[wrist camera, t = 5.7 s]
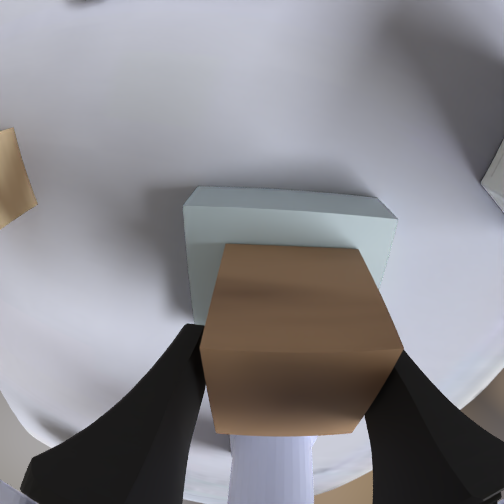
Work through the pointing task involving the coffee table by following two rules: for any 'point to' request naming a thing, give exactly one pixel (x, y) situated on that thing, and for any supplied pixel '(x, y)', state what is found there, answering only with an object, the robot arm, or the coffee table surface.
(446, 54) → the coffee table surface
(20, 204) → the oak cube
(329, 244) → the slab
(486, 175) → the small box
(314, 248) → the walnut cube
